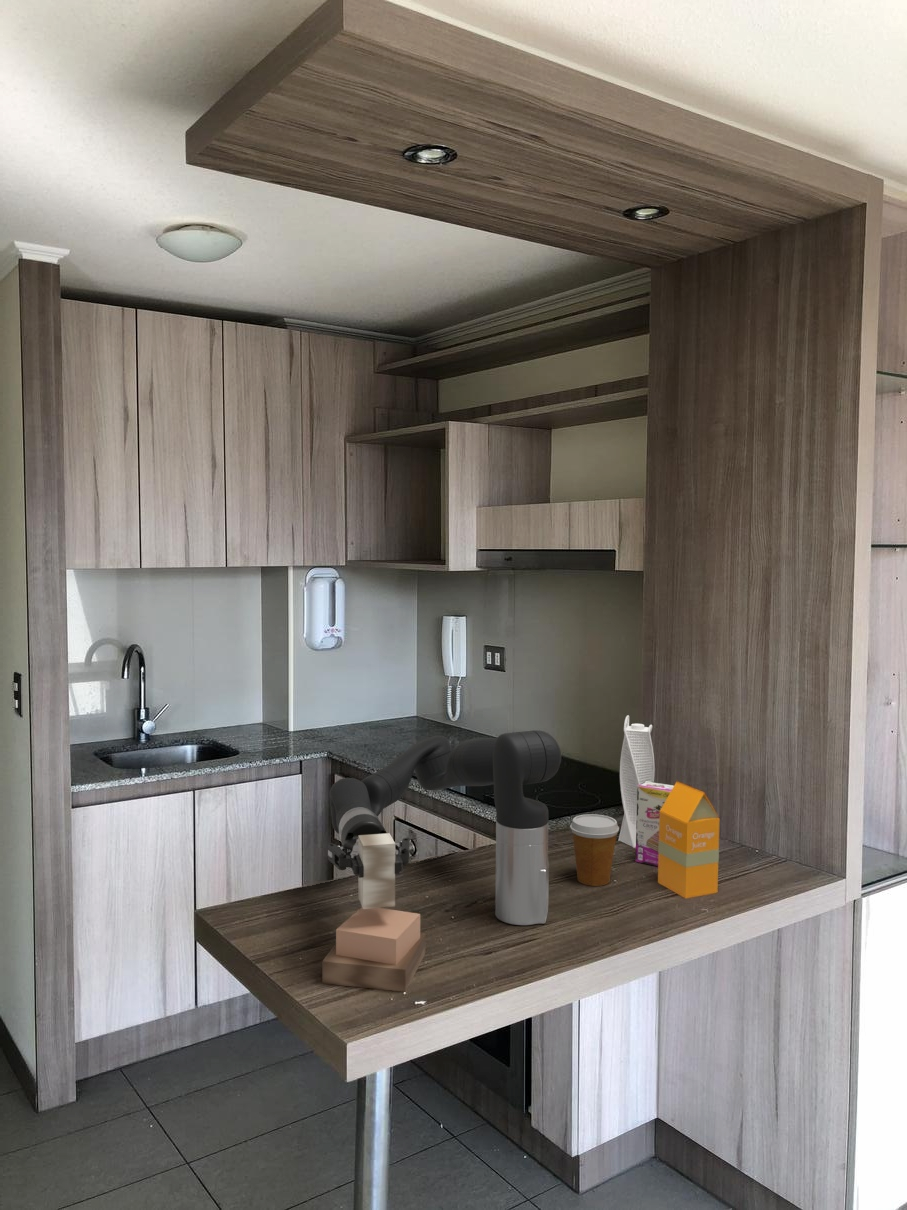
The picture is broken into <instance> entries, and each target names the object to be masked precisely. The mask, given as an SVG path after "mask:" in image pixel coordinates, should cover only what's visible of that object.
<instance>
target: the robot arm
mask: <svg viewBox="0 0 907 1210" xmlns="http://www.w3.org/2000/svg"><path fill="white" fill-rule="evenodd" d="M448 739H449V738H447V737H446V736H445V735H435V736H434V735H433V736H431V737H427V738H424V739H423V740H422V739H421V740H419V742H418V741H417V742H416V743H414V744H413V745H412V746H410V747H408V749H406V750H405V751H403V752H402V753H400V755H399V756H397V758H395V759H394V760H393V761H391V762H390V763H389V764H387V765H386V766H385V767H383V768H381V769H380V770H378V771H375V772H374V773H372V774H370V775H367V776H366V777H365V778H363V779H361V780H360V779H357V778H355V777H345V778H341V779H339V780H337V781H335V782H334V783H333V784H332V785H331V787H330V789H329V792H328V793H329V794H328V795H329V796H328V797H329V806H330V818H331V825H332V828H333V830H334V831H335V832H336V833H337V834H338V836H339V839H340V842H341V845H342V846H341V845H337V844H335V843H331V842H330V843H328V844H327V860H328V861H329V862H330V863H331V864H332V865H333V866H334V867H335V868H337V869H338V870H339V871H345V870H347V868H349V869H350V871H351V872H352V874H353V875H355V876H358V877H359V878H362V877H364V865H363V863H362V860H361V858H360V856H359V853H358V835H372V834H385V833H387V830H386V828H385V827H384V824H383V823H382V822H381V820H380V818H379V816H380V815H381V814H382V812H383V810H384V809H387V808H388V807H389V806H390V805H393V804H394V803H396V802H398V801H399V800H400V799H401V798H402V797H403V796H404V795H405V793H406V792H407V790H408V788H409V785H410V783H411V781H412V778H413V774H414V773H415V776H416V779H417V781H418V784H419V786H420V787H421V788H422V789H424V790H425V791H431V792H432V791H440V790H444V789H448V788H450V789H451V788H455V787H484V786H491V785H493V800H494V805H495V806H494V807H495V813H496V814H495V815H496V816H495V817H496V818H495V819H496V821H495V823H496V824H495V834H496V835H495V900H494V901H495V902H494V906H495V907H494V909H495V912H494V913H495V917H496V919H498V920H499V921H501V922H504V923H506V924H510V925H516V926H532V925H537V924H546V921H547V917H548V913H549V893H550V891H549V889H550V888H549V887H550V886H549V879H550V878H549V876H550V874H549V873H550V865H549V864H550V861H549V809H548V806H547V805H546V804H545V803H543V802H541V801H539V800H536V799H533V798H530V797H525V796H524V789H523V788H524V786H523V785H532V784H537V783H538V784H539V783H543V782H547V781H550V779H552V778H553V777H555V775H556V774H557V773H558V771H559V769H560V766H561V763H562V752H561V751H562V750H561V748H560V746H559V743H558V741H557V740H556V738H554V737H553V736H552V735H551V734H550V733H549V732H546V731H543V730H538V729H537V730H534V729H533V730H526V731H524V730H523V731H513V732H506V733H502V734H500V735H498V736H497V737H479V738H471V739H466V740H463V741H462V742H460V743H459V744H457V745H456V746H455V747H454V749H453V748H452V745H451V743H450V741H449V740H448ZM410 841H411V839H410V838H408V837H404V838H402V840H400V841H399V842H395V876H396V875H400V872H403V866H407V865H409V863H410V856H411V855H410V853H411V849H410V847H411V842H410Z"/></svg>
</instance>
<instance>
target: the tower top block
mask: <svg viewBox="0 0 907 1210" xmlns="http://www.w3.org/2000/svg"><path fill="white" fill-rule="evenodd" d="M420 933H421V913H417V912H409V911H405V910H404V911H402V910H396V909H389V908H385V907H381V908H370V909H363V908H362V906H361V907H360V908H359V909H358V910H356V911H355V912H354V913H353V914H352V915H351V916H349V918H348V919H346V920H345V921H344V922H343V923H341V925H339V926H338V927H337V928H336V929H335V938H336V939H335V944H336V955H341V956H347V957H353V958H358V959H364V960H370V961H376V962H382V963H388V964H393V965H397V963H398V962H399V961H400V960H401V959H402V958H403V957H404V956H405V955H406V953H407V952H408V951H409V950H410V949H411V948H412V947H413V946H414V944H415V943H416V942H417V941H418V940H419V939H420Z"/></svg>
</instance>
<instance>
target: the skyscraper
mask: <svg viewBox="0 0 907 1210" xmlns="http://www.w3.org/2000/svg"><path fill="white" fill-rule="evenodd" d="M652 730H653V725H652V724H649V726H648V727H647V726H645V724H643V723H632V724H630V715H629V714H628V715H626V716H625V719H624V724H623V732H624V734H623V740H622V747H621V752H620V761H619V785H620V786H619V787H620V794H621V795H620V796H621V803H622V809H623V813H624V814H623V818H622V822H621V826H620V832H619V835H618V840H617V841H618V842H622V843H623V844H626V845H628V846H629V847H632V848H633V849H636V823H637V789H638V785H639V784H642V783H643V782H645V781H649V782H655V771H656V767H655V755H654V747H653V741H652V736H651V733H652Z"/></svg>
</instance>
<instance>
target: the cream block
mask: <svg viewBox="0 0 907 1210" xmlns="http://www.w3.org/2000/svg"><path fill="white" fill-rule="evenodd" d="M395 843H396V842H395V841H394V839H393V837H392V835H391V833H390V832H388V833H385V834H372V835H358V853H359V856H360V858H361V860H362V863H363V865H364V877H362V878H359V877H358V879H357V880H358V881H357V882H358V883H357V884H358V887H357V889H358V890H357V892H358V894H357V895H358V896H357V898H358V900H359V903H360V905H361V907H362V908H363V909H370V908H390V907H396V875H395Z"/></svg>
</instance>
